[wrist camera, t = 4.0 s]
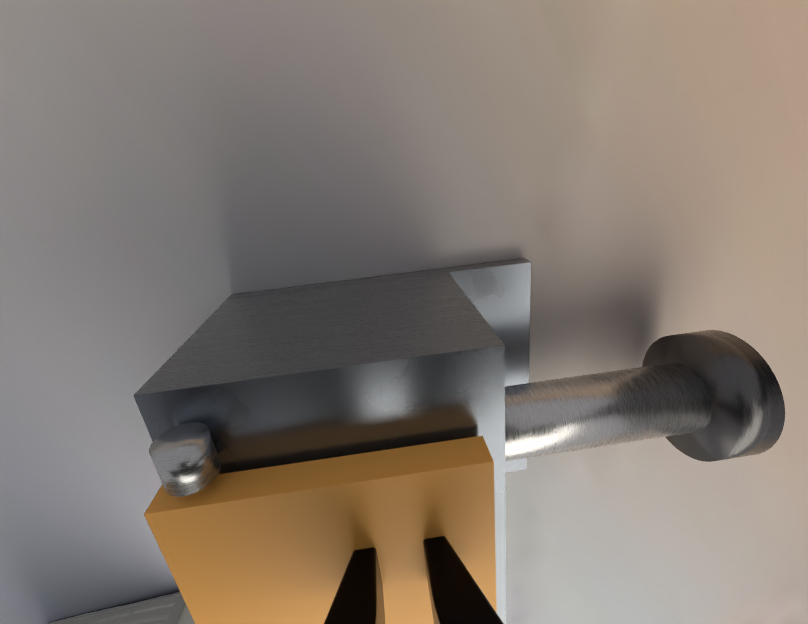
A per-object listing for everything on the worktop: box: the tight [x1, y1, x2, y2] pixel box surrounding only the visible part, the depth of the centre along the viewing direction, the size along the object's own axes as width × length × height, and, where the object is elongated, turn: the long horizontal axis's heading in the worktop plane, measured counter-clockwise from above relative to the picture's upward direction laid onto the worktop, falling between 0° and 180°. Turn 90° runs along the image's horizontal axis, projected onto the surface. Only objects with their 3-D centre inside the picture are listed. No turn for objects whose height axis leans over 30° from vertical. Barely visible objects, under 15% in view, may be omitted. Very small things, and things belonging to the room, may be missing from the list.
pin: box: [505, 330, 785, 462], centre depth 11 cm, size 11×4×4 cm, turn 95°
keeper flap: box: [144, 436, 497, 624], centre depth 8 cm, size 6×4×1 cm
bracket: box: [134, 258, 531, 624], centre depth 11 cm, size 9×8×6 cm
